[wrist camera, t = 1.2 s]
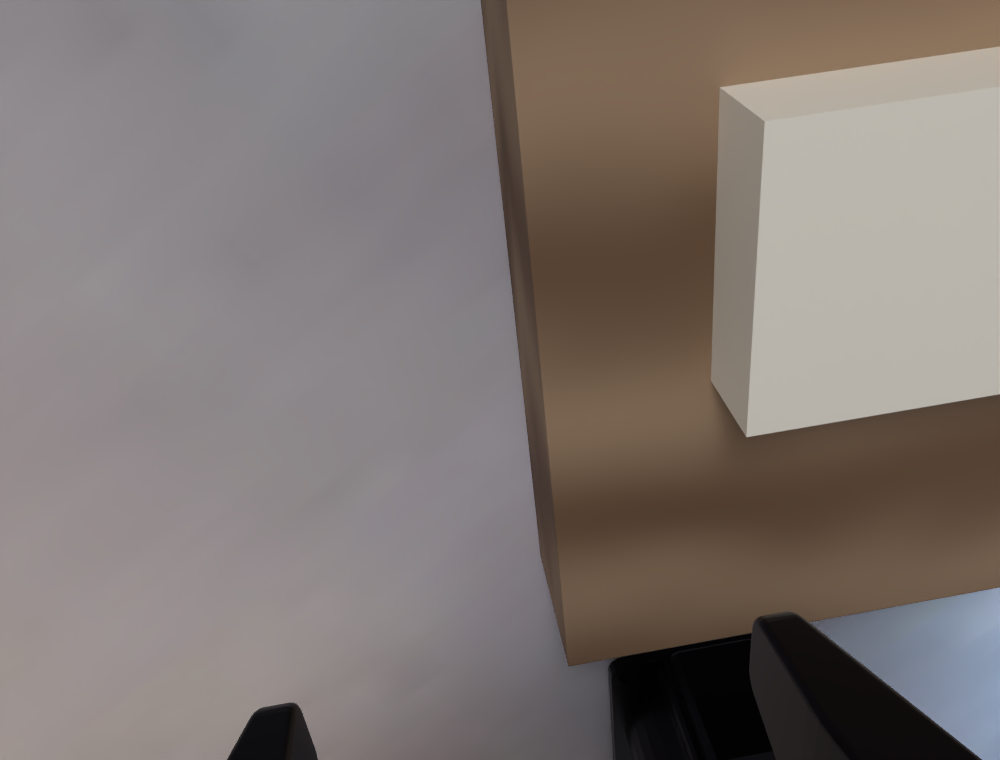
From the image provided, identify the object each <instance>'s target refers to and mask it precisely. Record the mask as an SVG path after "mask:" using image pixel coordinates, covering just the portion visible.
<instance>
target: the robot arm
mask: <svg viewBox="0 0 1000 760" xmlns="http://www.w3.org/2000/svg"><path fill="white" fill-rule="evenodd" d="M608 674H609V691H610V709H611V726H612V744H613V760H982V759H980V758H979V757H978V756H977V755H975V754H974V753H973V752H972V751H970V750H969V749H968V748H967V747H965V746H964V745H963V744H962V743H960V742H959V741H958V740H957V739H955V738H954V737H953V736H951V735H950V734H949V733H948V732H946V731H945V730H944V729H943V728H941V727H940V726H939V725H938V724H936V723H935V722H934V721H933V720H931V719H930V718H929V717H928V716H926V715H925V714H924V713H923V712H921V711H920V710H919V709H917V708H916V707H915V706H914V705H912V704H911V703H910V702H909V701H907V700H906V699H905V698H904V697H902V696H901V695H900V694H899V693H897V692H896V691H895V690H894V689H892V688H891V687H890V686H889V685H887V684H886V683H885V682H883V681H882V680H881V679H880V678H878V677H877V676H876V675H875V674H873V673H872V672H871V671H870V670H868V669H867V668H866V667H865V666H863V665H862V664H861V663H860V662H858V661H857V660H856V659H855V658H853V657H852V656H851V655H850V654H848V653H847V652H846V651H844V650H843V649H842V648H841V647H839V646H838V645H837V644H836V643H834V642H833V641H832V640H831V639H829V638H828V637H827V636H826V635H824V634H823V633H822V632H821V631H819V630H818V629H817V628H816V627H814V626H813V625H812V624H810V623H809V622H808V621H807V620H805V619H804V618H803V617H802V616H800V615H799V614H797V613H794V612H791V611H786V612H780V613H775V614H770V615H764V616H760V617H757V618H756V619H755V621H754V623H753V626H752V633H750V634H745V635H739V636H734V637H728V638H723V639H717V640H712V641H706V642H701V643H696V644H690V645H685V646H679V647H674V648H668V649H663V650H657V651H652V652H646V653H641V654H635V655H630V656H625V657H621V658H618V659H616V660H614V661H613V662H612V663H611V664H610V665H609V669H608ZM227 760H318V759H317V754H316V750H315V747H314V744H313V742H312V739H311V736H310V733H309V730H308V728H307V725H306V722H305V719H304V716H303V714H302V711H301V709H300V707H299V706H298V705H297V704H295V703H285V704H280V705H274V706H269V707H263V708H260V709H258V710H257V711H256V712H254V714H253V715H252V716H251V718H250V719H249V721H248V723H247V725H246V727H245V728H244V730H243V732H242V734H241V736H240V737H239V739H238V741H237V743H236V744H235V746H234V748H233V750H232V752H231V753H230V755H229V757H228V759H227Z"/></svg>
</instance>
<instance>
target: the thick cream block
mask: <svg viewBox="0 0 1000 760" xmlns="http://www.w3.org/2000/svg"><path fill="white" fill-rule="evenodd" d="M711 382H712V383H713V385H714V386H715V388H716V390H717V391H718V393H719V394H720V396H721V398H722V399H723V401H724V402H725V404H726V406H727V407H728V409H729V410H730V412H731V413H732V415H733V417H734V418H735V420H736V421H737V423H738V425H739V426H740V428H741V429H742V431H743V433H744V434H745V436H746V437H751V436H757V435H763V434H769V433H774V432H780V431H786V430H792V429H798V428H804V427H810V426H816V425H822V424H827V423H833V422H839V421H845V420H851V419H857V418H863V417H869V416H875V415H880V414H886V413H892V412H898V411H904V410H910V409H916V408H922V407H928V406H933V405H939V404H945V403H951V402H957V401H963V400H969V399H975V398H980V397H986V396H992V395H998V394H1000V47H993V48H986V49H979V50H972V51H966V52H959V53H952V54H945V55H938V56H931V57H924V58H918V59H911V60H904V61H897V62H890V63H883V64H876V65H870V66H863V67H856V68H849V69H842V70H835V71H828V72H822V73H815V74H808V75H801V76H794V77H787V78H780V79H774V80H767V81H760V82H753V83H746V84H739V85H732V86H726V87H720V94H719V128H718V161H717V195H716V228H715V262H714V295H713V329H712V362H711Z"/></svg>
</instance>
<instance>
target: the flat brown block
mask: <svg viewBox="0 0 1000 760" xmlns="http://www.w3.org/2000/svg"><path fill="white" fill-rule="evenodd" d="M481 7H482V16H483V25H484V34H485V44H486V53H487V62H488V71H489V81H490V90H491V99H492V109H493V118H494V127H495V136H496V146H497V155H498V164H499V173H500V183H501V192H502V201H503V210H504V220H505V229H506V238H507V248H508V257H509V266H510V275H511V285H512V294H513V303H514V312H515V322H516V331H517V340H518V349H519V359H520V368H521V377H522V387H523V396H524V405H525V414H526V424H527V433H528V442H529V451H530V461H531V470H532V479H533V488H534V498H535V507H536V516H537V526H538V535H539V544H540V553H541V559H542V563H543V567H544V571H545V575H546V579H547V583H548V587H549V591H550V595H551V599H552V603H553V607H554V611H555V615H556V619H557V623H558V627H559V630H560V634H561V638H562V642H563V646H564V650H565V654H566V658H567V662H568V666H573V665H579V664H584V663H590V662H595V661H601V660H606V659H611V658H617V657H622V656H628V655H633V654H639V653H644V652H650V651H655V650H661V649H666V648H671V647H677V646H682V645H688V644H693V643H699V642H704V641H710V640H715V639H721V638H726V637H731V636H737V635H742V634H748V633H752V626H753V623H754V621H755V619H756V618H757V617H760V616H764V615H770V614H775V613H780V612H786V611H791V612H794V613H797V614H799V615H800V616H802V617H803V618H804V619H805V620H807V621H808V622H813V621H819V620H824V619H830V618H835V617H841V616H846V615H851V614H857V613H862V612H868V611H873V610H879V609H884V608H890V607H895V606H901V605H906V604H912V603H917V602H922V601H928V600H933V599H939V598H944V597H950V596H955V595H961V594H966V593H972V592H977V591H982V590H988V589H993V588H999V587H1000V394H998V395H992V396H986V397H980V398H975V399H969V400H963V401H957V402H951V403H945V404H939V405H933V406H928V407H922V408H916V409H910V410H904V411H898V412H892V413H886V414H880V415H875V416H869V417H863V418H857V419H851V420H845V421H839V422H833V423H827V424H822V425H816V426H810V427H804V428H798V429H792V430H786V431H780V432H774V433H769V434H763V435H757V436H751V437H746V436H745V434H744V433H743V431H742V429H741V428H740V426H739V425H738V423H737V421H736V420H735V418H734V417H733V415H732V413H731V412H730V410H729V409H728V407H727V406H726V404H725V402H724V401H723V399H722V398H721V396H720V394H719V393H718V391H717V390H716V388H715V386H714V385H713V383H712V382H711V362H712V329H713V295H714V262H715V228H716V195H717V161H718V128H719V94H720V87H726V86H732V85H739V84H746V83H753V82H760V81H767V80H774V79H780V78H787V77H794V76H801V75H808V74H815V73H822V72H828V71H835V70H842V69H849V68H856V67H863V66H870V65H876V64H883V63H890V62H897V61H904V60H911V59H918V58H924V57H931V56H938V55H945V54H952V53H959V52H966V51H972V50H979V49H986V48H993V47H1000V0H481Z"/></svg>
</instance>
